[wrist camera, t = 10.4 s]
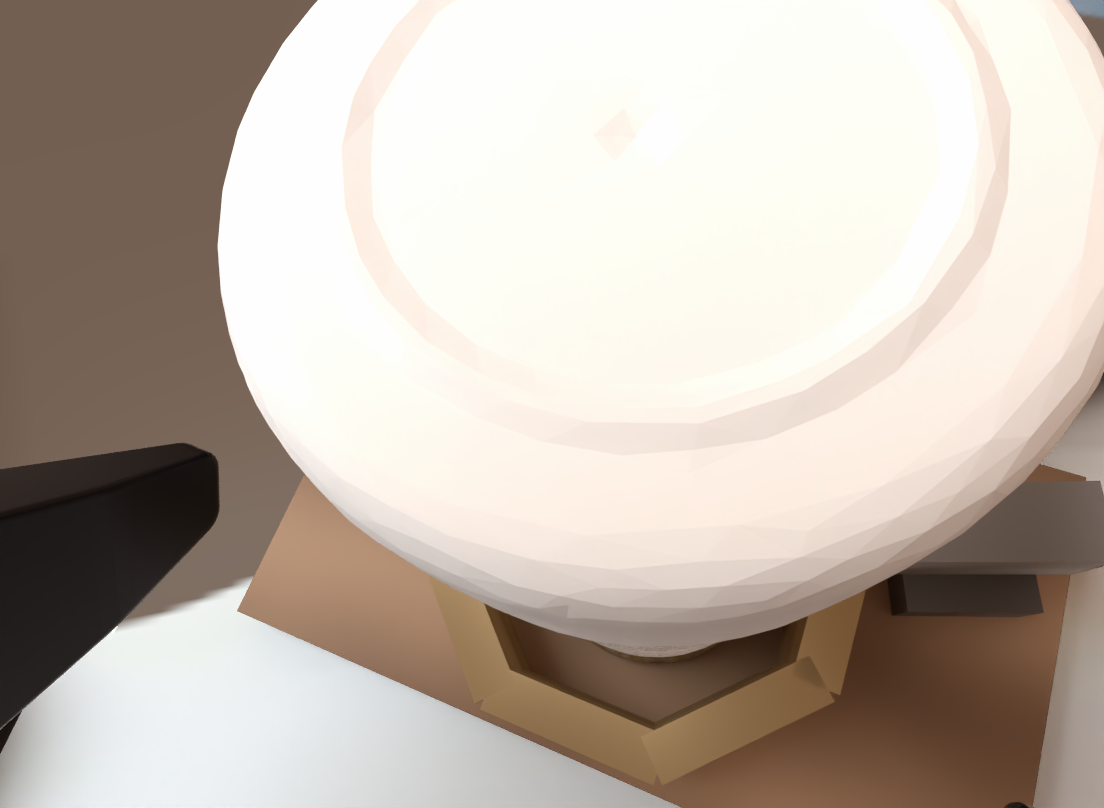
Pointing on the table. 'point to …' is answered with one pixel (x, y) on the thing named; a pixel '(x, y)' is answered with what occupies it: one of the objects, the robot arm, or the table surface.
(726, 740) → the stand
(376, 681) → the table surface
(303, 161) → the sprinkles bottle
